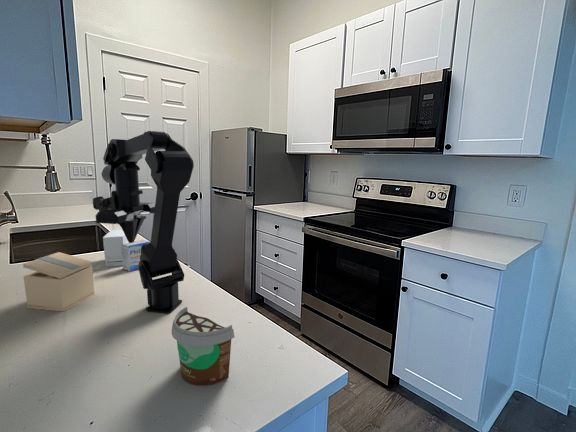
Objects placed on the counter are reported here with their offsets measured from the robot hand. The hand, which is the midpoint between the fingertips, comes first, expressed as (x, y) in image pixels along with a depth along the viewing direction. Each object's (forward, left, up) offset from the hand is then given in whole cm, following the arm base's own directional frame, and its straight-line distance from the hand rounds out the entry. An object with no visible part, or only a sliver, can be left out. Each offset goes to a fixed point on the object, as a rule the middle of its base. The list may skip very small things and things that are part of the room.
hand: (131, 242), depth 90 cm
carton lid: (+12, +12, -4) cm, 17 cm away
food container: (-34, +33, -13) cm, 49 cm away
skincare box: (+19, -19, -13) cm, 30 cm away
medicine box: (+9, -15, -13) cm, 22 cm away
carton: (+12, +12, -13) cm, 21 cm away
